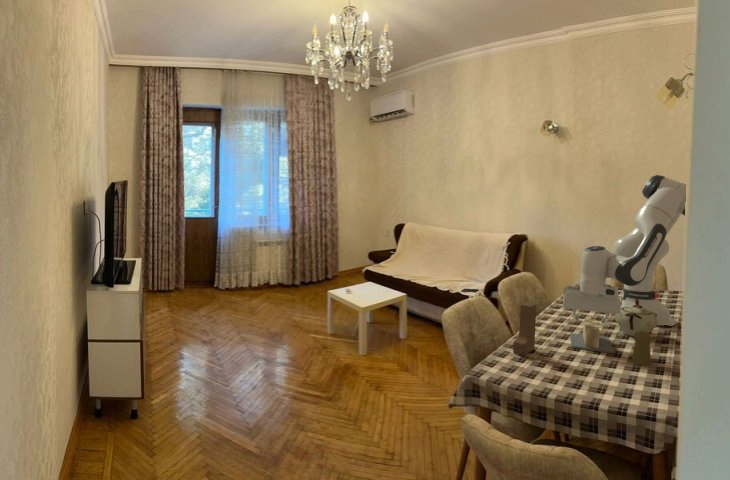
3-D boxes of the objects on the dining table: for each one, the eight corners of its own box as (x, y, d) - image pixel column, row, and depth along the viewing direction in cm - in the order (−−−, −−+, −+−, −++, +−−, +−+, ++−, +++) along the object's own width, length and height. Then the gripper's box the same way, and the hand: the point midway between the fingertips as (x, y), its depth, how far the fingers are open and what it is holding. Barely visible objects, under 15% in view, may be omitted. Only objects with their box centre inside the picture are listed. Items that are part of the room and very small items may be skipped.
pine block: (596, 319, 175) (599, 330, 163) (595, 336, 176) (598, 348, 164) (583, 318, 177) (586, 328, 164) (582, 334, 178) (585, 346, 165)
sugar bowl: (620, 324, 193) (622, 292, 191) (659, 331, 183) (662, 297, 181) (608, 335, 179) (611, 301, 177) (651, 344, 169) (654, 307, 167)
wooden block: (524, 356, 158) (526, 309, 156) (512, 352, 162) (514, 306, 159) (534, 349, 165) (536, 304, 162) (523, 346, 168) (525, 302, 165)
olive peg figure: (627, 359, 155) (629, 330, 153) (642, 358, 155) (645, 329, 154) (639, 366, 149) (641, 336, 147) (655, 365, 149) (658, 335, 148)
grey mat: (608, 339, 175) (608, 337, 175) (613, 353, 160) (613, 351, 160) (570, 334, 180) (570, 332, 180) (571, 347, 166) (572, 346, 166)
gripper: (563, 286, 169) (561, 320, 171) (622, 292, 161) (620, 327, 163) (563, 283, 175) (561, 315, 177) (620, 288, 167) (618, 322, 169)
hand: (589, 321), depth 170 cm, fingers open, 8 cm apart
